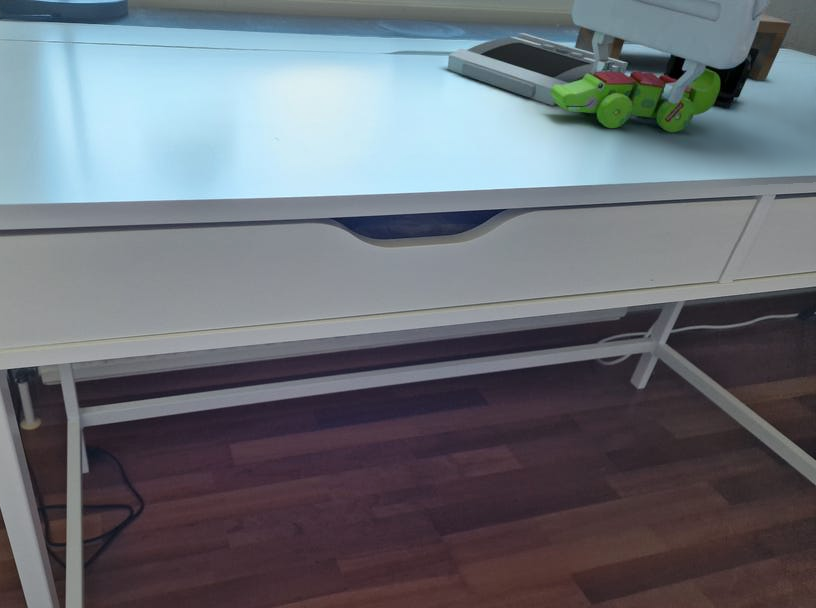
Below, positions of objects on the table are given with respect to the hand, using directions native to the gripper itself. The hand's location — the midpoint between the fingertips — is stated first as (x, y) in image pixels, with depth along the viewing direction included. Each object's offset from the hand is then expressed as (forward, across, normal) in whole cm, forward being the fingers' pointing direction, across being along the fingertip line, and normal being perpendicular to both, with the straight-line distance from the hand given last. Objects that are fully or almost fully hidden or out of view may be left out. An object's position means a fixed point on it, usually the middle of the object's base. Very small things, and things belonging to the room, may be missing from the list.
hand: (632, 88), depth 77 cm
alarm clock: (+4, +16, -3) cm, 17 cm away
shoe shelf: (+3, +14, -33) cm, 36 cm away
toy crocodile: (+4, 0, -1) cm, 4 cm away
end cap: (+3, +2, -21) cm, 21 cm away
